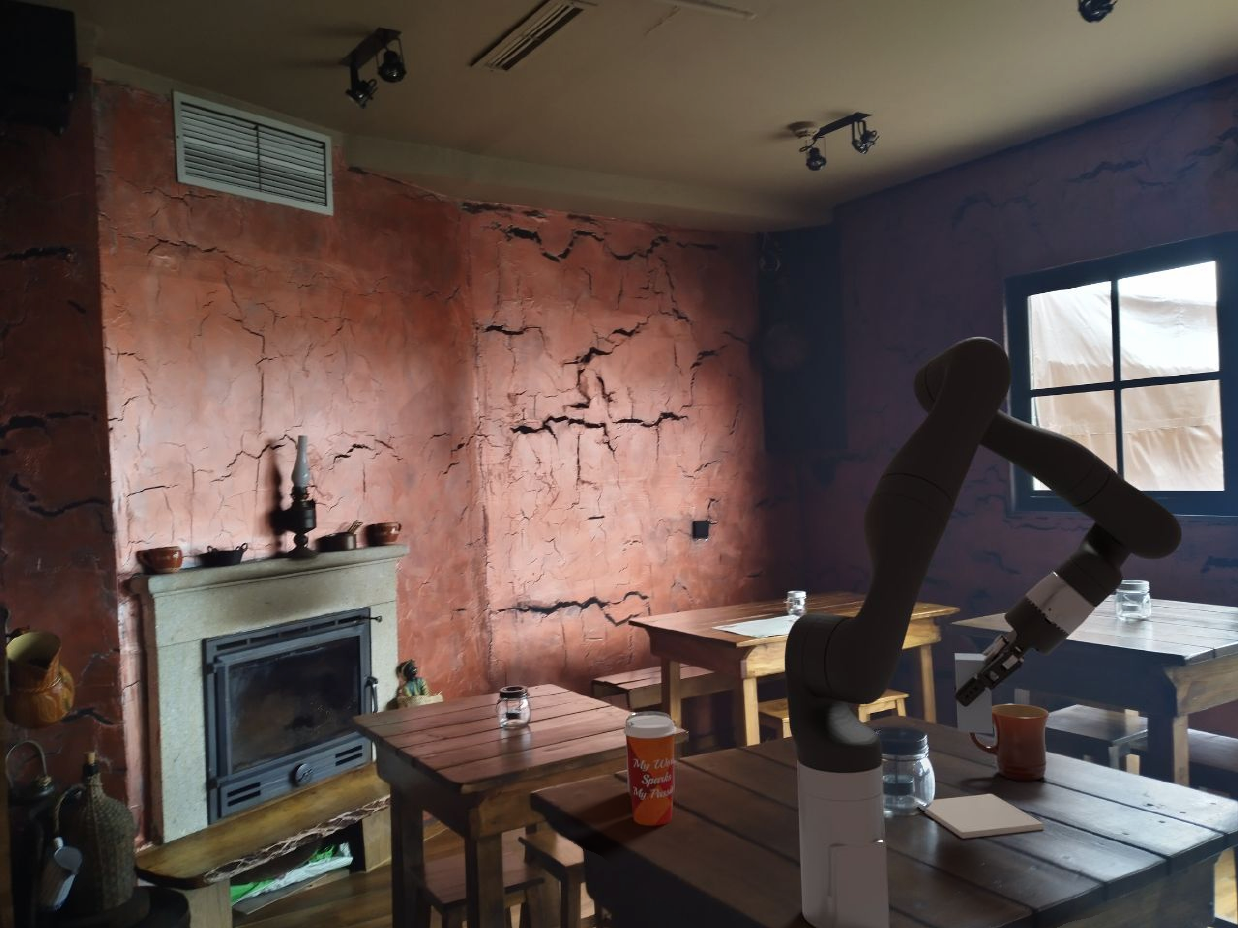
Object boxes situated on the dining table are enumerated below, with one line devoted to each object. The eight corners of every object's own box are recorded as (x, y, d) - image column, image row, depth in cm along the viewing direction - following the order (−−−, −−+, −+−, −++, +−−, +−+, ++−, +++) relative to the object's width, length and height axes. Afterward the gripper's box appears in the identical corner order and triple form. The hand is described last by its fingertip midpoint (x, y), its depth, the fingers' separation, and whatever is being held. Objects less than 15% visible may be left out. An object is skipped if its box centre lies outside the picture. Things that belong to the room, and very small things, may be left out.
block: (992, 733, 126) (989, 660, 126) (958, 731, 128) (955, 659, 128) (991, 724, 131) (988, 654, 131) (957, 722, 132) (954, 653, 132)
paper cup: (635, 831, 128) (632, 730, 128) (619, 812, 135) (616, 717, 135) (688, 824, 130) (684, 724, 130) (669, 806, 137) (666, 712, 138)
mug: (1046, 768, 149) (1044, 704, 149) (1055, 786, 141) (1053, 719, 141) (967, 763, 152) (965, 701, 153) (971, 781, 144) (969, 715, 144)
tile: (1043, 829, 124) (1043, 823, 124) (962, 838, 122) (962, 832, 122) (991, 799, 136) (991, 793, 136) (917, 806, 134) (916, 801, 134)
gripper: (1022, 586, 134) (938, 667, 138) (1032, 600, 120) (938, 689, 124) (1064, 623, 132) (977, 704, 136) (1078, 642, 118) (982, 731, 122)
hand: (959, 696), depth 130 cm, fingers closed on block, 4 cm apart
